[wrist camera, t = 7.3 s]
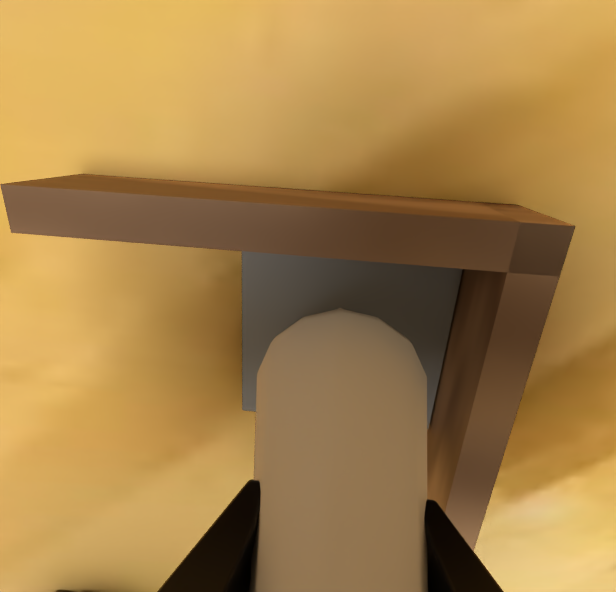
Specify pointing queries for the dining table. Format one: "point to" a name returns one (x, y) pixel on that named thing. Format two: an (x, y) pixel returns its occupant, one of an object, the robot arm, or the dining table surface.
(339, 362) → the salt shaker
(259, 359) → the slate mat
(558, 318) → the dining table surface
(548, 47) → the dining table surface
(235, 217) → the corner walls
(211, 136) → the dining table surface
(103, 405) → the dining table surface
